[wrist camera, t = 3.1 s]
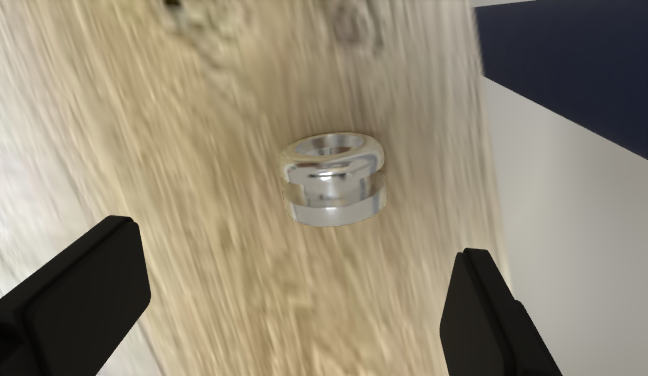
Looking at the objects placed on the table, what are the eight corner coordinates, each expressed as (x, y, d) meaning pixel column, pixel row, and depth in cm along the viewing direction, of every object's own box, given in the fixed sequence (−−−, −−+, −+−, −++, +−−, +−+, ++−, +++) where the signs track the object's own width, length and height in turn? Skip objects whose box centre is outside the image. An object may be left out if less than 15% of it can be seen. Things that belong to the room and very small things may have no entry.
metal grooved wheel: (295, 184, 21) (275, 229, 17) (287, 134, 20) (262, 167, 15) (384, 178, 20) (388, 224, 16) (381, 125, 19) (384, 158, 15)
